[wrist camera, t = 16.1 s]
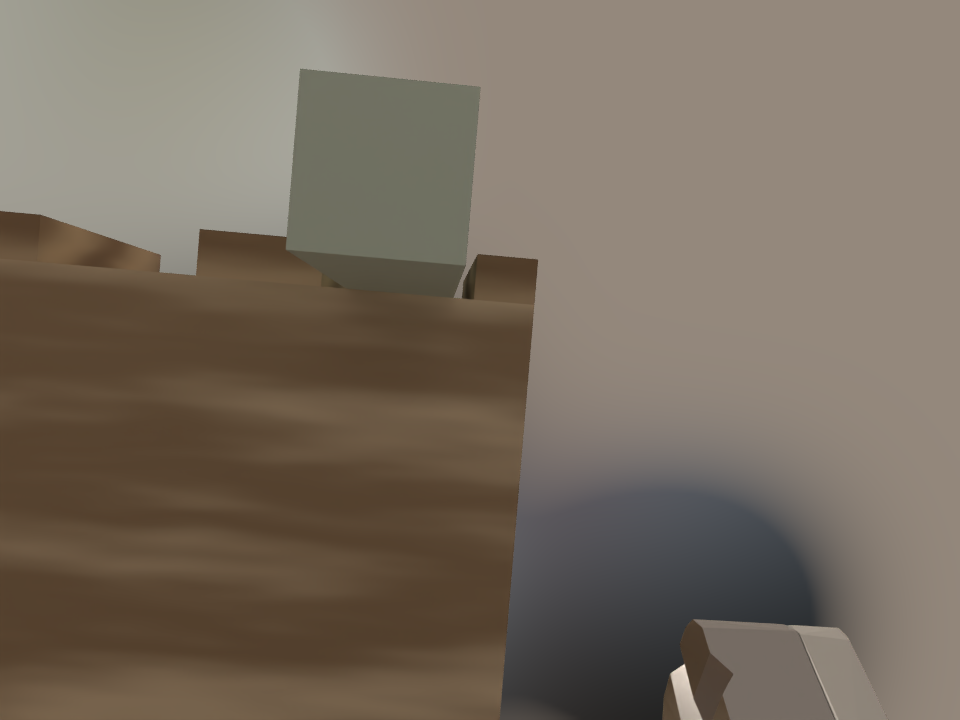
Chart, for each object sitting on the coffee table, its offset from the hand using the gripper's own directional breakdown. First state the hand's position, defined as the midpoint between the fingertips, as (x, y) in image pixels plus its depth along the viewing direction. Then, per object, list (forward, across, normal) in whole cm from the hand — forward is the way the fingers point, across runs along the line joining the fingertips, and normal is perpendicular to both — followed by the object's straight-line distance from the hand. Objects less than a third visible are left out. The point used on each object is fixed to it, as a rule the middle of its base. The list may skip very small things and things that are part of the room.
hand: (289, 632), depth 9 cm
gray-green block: (+21, 0, -7) cm, 22 cm away
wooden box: (+12, -4, -30) cm, 33 cm away
